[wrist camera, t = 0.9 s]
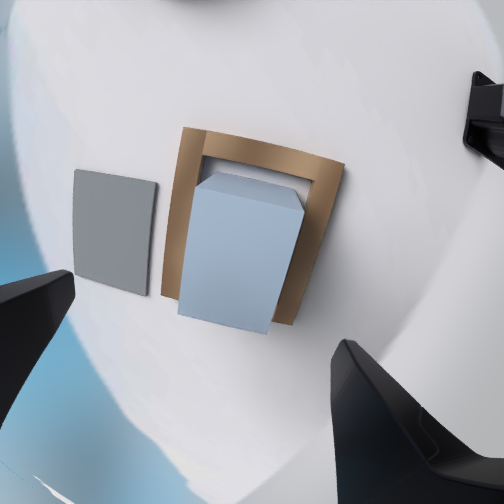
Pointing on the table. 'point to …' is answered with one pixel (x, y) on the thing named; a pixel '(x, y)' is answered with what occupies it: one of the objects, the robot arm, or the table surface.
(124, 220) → the pad
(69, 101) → the table surface
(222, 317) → the part block
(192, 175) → the frame
